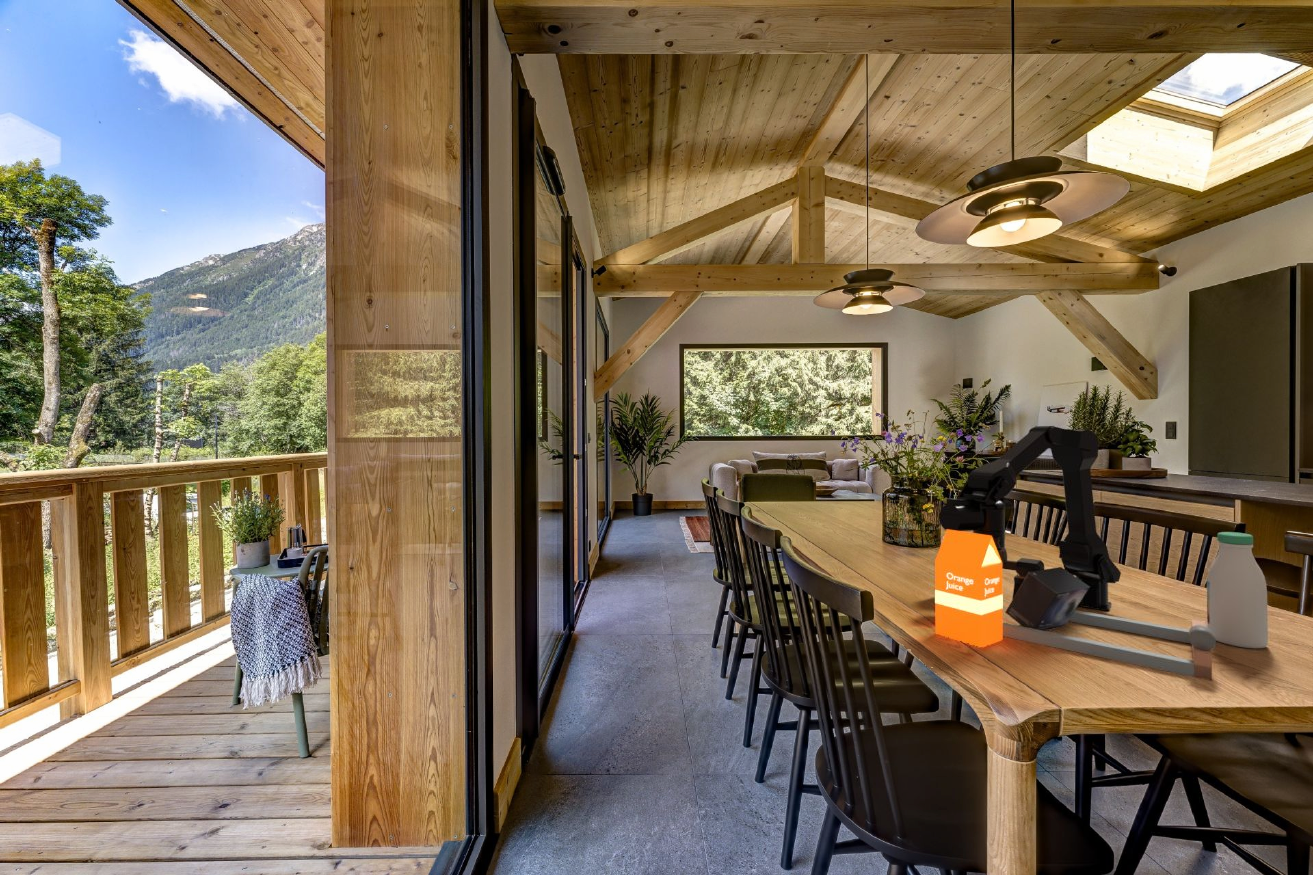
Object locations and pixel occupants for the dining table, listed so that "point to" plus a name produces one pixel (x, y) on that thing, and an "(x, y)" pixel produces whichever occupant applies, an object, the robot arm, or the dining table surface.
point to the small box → (1047, 599)
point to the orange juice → (969, 589)
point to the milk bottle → (1237, 594)
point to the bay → (1196, 636)
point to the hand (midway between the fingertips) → (988, 603)
